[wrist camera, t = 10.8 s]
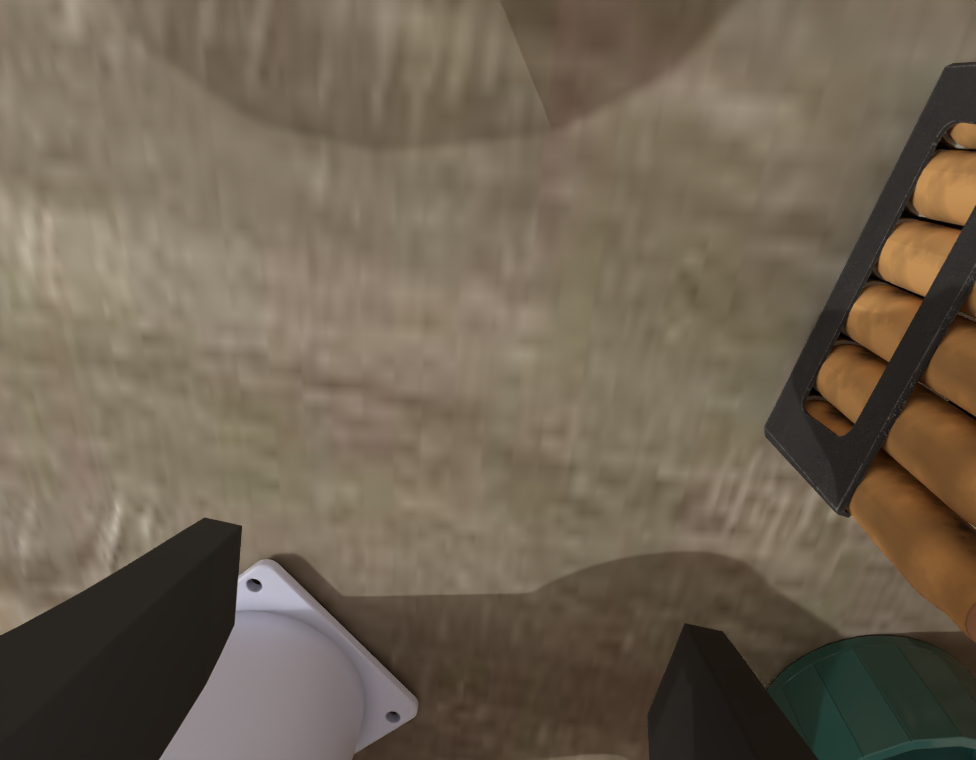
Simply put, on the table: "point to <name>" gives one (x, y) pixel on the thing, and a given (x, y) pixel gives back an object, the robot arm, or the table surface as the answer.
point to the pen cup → (880, 701)
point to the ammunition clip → (903, 365)
